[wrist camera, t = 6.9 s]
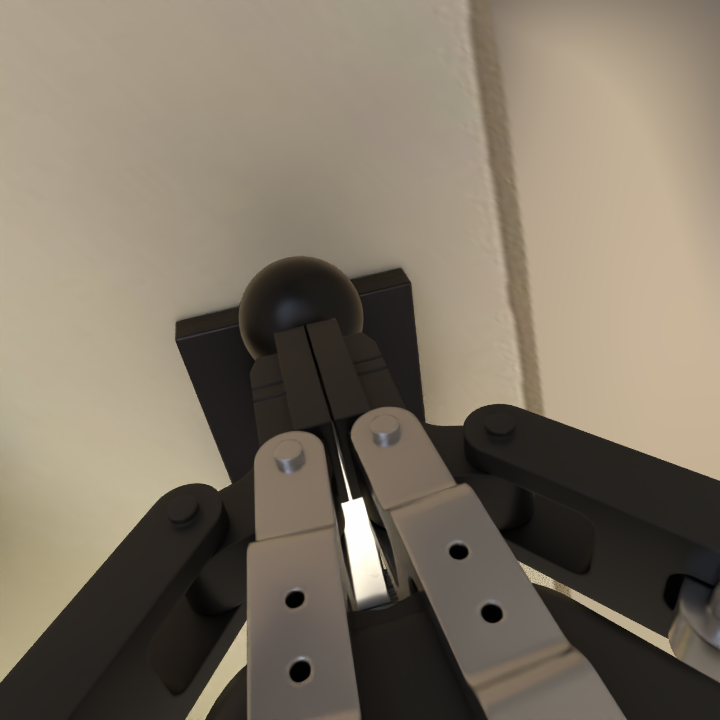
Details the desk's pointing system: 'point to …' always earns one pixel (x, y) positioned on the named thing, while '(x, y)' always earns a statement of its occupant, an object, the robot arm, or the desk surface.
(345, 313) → the lever
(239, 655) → the desk surface
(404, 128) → the desk surface
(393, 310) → the bracket
